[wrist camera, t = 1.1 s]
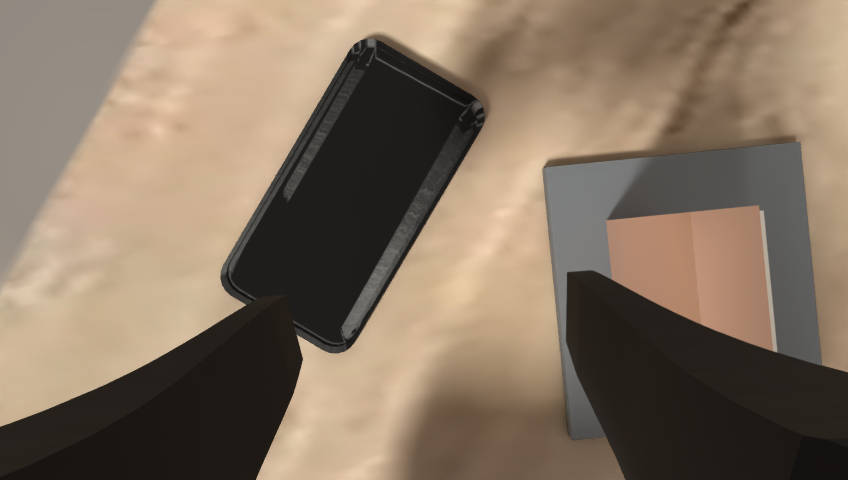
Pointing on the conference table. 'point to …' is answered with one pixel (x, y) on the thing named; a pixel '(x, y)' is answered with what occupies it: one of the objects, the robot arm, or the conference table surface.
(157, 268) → the conference table surface
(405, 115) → the phone
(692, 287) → the light brown rectangular block
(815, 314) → the mat
